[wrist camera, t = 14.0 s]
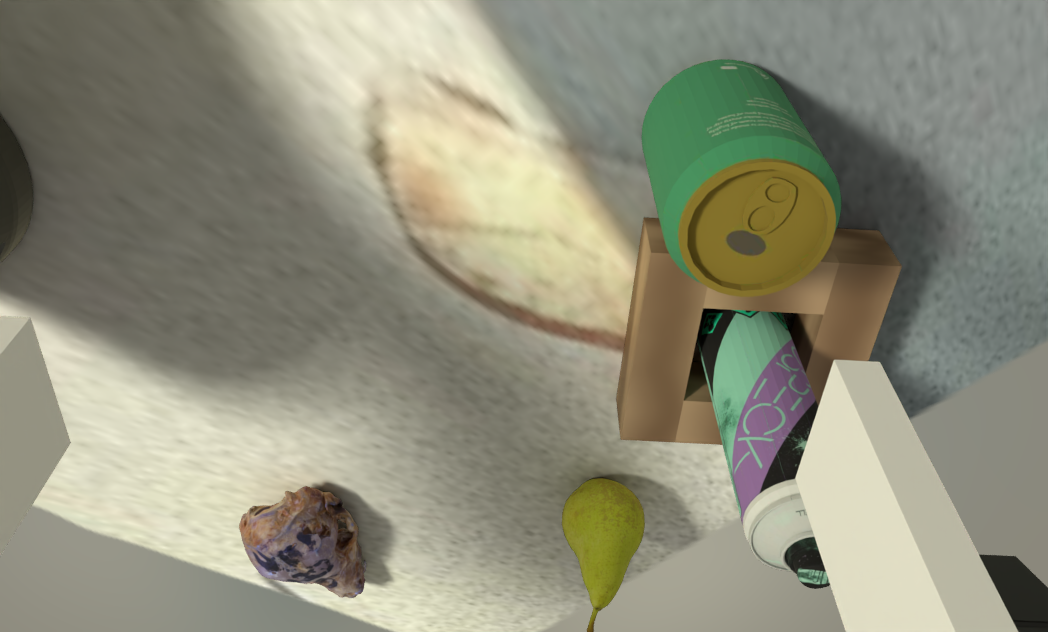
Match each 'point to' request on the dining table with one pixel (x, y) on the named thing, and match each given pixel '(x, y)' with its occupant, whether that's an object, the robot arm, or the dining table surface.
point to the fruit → (603, 536)
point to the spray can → (763, 432)
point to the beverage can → (738, 180)
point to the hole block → (678, 300)
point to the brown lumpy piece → (305, 542)
